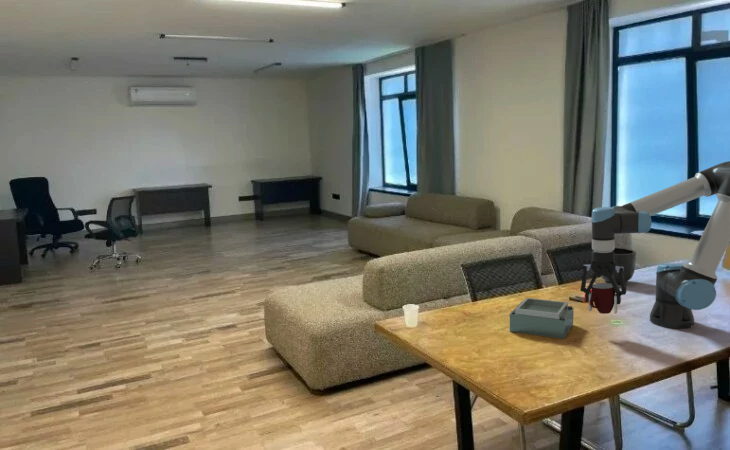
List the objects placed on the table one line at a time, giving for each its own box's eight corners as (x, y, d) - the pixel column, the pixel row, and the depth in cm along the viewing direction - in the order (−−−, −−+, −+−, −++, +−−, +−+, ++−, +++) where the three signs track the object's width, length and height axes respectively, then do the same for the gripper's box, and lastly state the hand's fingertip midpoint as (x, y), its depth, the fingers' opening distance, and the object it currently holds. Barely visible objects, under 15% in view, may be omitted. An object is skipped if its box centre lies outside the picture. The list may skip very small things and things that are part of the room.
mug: (603, 318, 202) (601, 291, 201) (584, 314, 209) (582, 288, 207) (621, 311, 207) (619, 284, 206) (602, 307, 214) (600, 281, 213)
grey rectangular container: (573, 324, 221) (573, 302, 219) (564, 339, 206) (564, 315, 205) (521, 318, 231) (521, 296, 229) (509, 331, 216) (509, 308, 215)
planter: (592, 278, 286) (593, 247, 284) (628, 278, 284) (629, 247, 281) (601, 287, 269) (602, 254, 267) (640, 287, 267) (641, 254, 265)
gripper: (636, 249, 202) (635, 311, 206) (574, 247, 213) (575, 305, 216) (633, 254, 196) (633, 317, 199) (570, 251, 206) (571, 311, 210)
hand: (603, 311), depth 208 cm, fingers closed on mug, 8 cm apart
